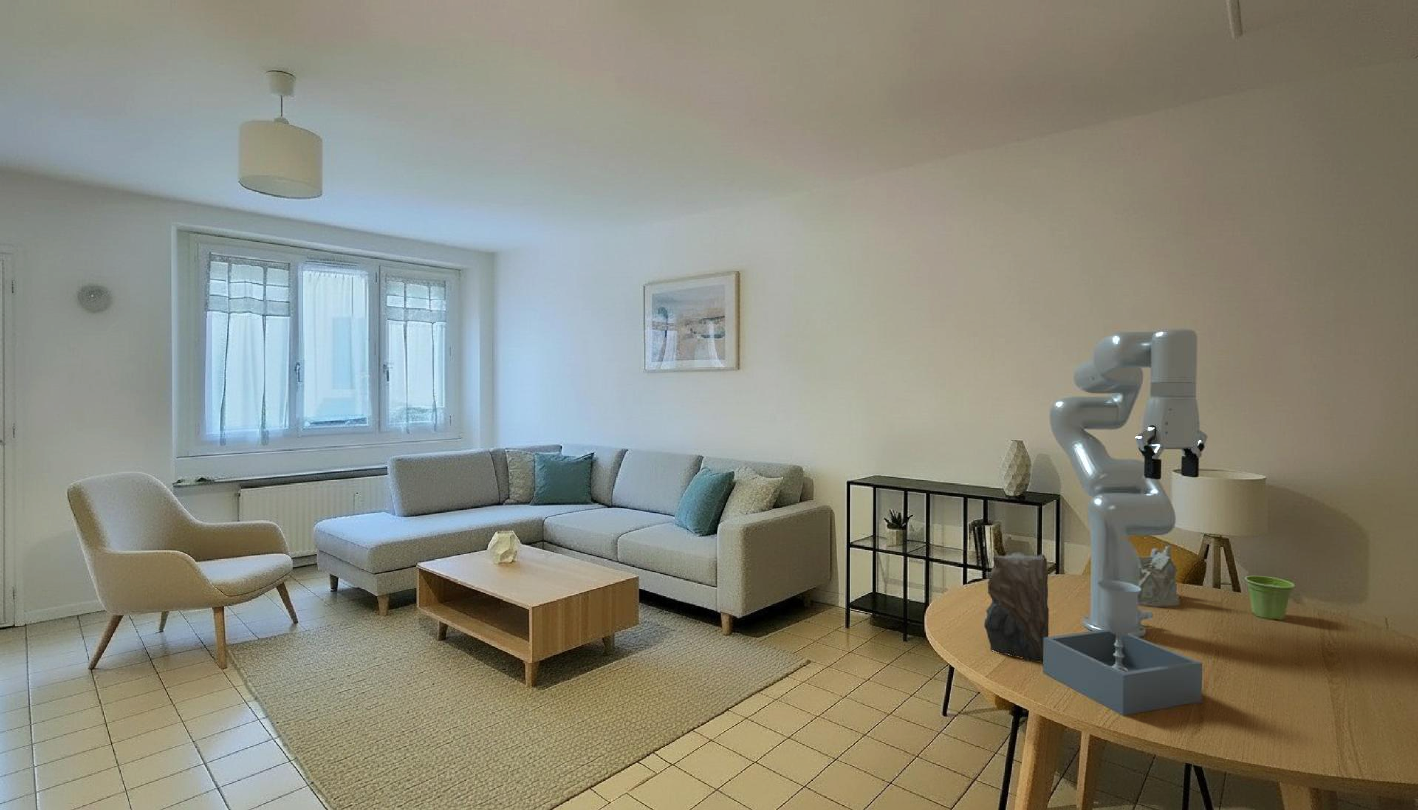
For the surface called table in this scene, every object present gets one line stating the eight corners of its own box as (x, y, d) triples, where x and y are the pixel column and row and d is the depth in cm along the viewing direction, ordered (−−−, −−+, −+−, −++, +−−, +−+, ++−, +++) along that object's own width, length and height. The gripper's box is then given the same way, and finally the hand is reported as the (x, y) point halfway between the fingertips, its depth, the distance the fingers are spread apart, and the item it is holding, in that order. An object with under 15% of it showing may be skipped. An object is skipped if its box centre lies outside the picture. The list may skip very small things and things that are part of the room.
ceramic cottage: (1159, 588, 187) (1158, 535, 186) (1191, 610, 171) (1189, 552, 170) (1099, 589, 190) (1097, 537, 189) (1124, 610, 174) (1122, 553, 173)
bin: (1114, 661, 138) (1115, 628, 138) (1201, 701, 121) (1202, 662, 120) (1043, 672, 133) (1043, 637, 133) (1122, 715, 115) (1123, 675, 115)
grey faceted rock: (982, 650, 144) (983, 557, 143) (996, 632, 154) (997, 546, 154) (1048, 664, 137) (1049, 567, 136) (1057, 645, 147) (1058, 554, 146)
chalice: (1088, 673, 130) (1089, 581, 130) (1121, 671, 131) (1122, 579, 130) (1115, 690, 123) (1115, 592, 122) (1149, 688, 123) (1150, 591, 123)
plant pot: (1299, 617, 164) (1300, 582, 164) (1286, 625, 159) (1287, 589, 159) (1252, 607, 172) (1252, 573, 172) (1238, 614, 167) (1238, 579, 166)
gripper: (1187, 391, 140) (1186, 473, 140) (1122, 391, 135) (1120, 476, 135) (1224, 391, 133) (1222, 478, 133) (1156, 392, 128) (1155, 482, 128)
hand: (1171, 477), depth 134 cm, fingers open, 9 cm apart
